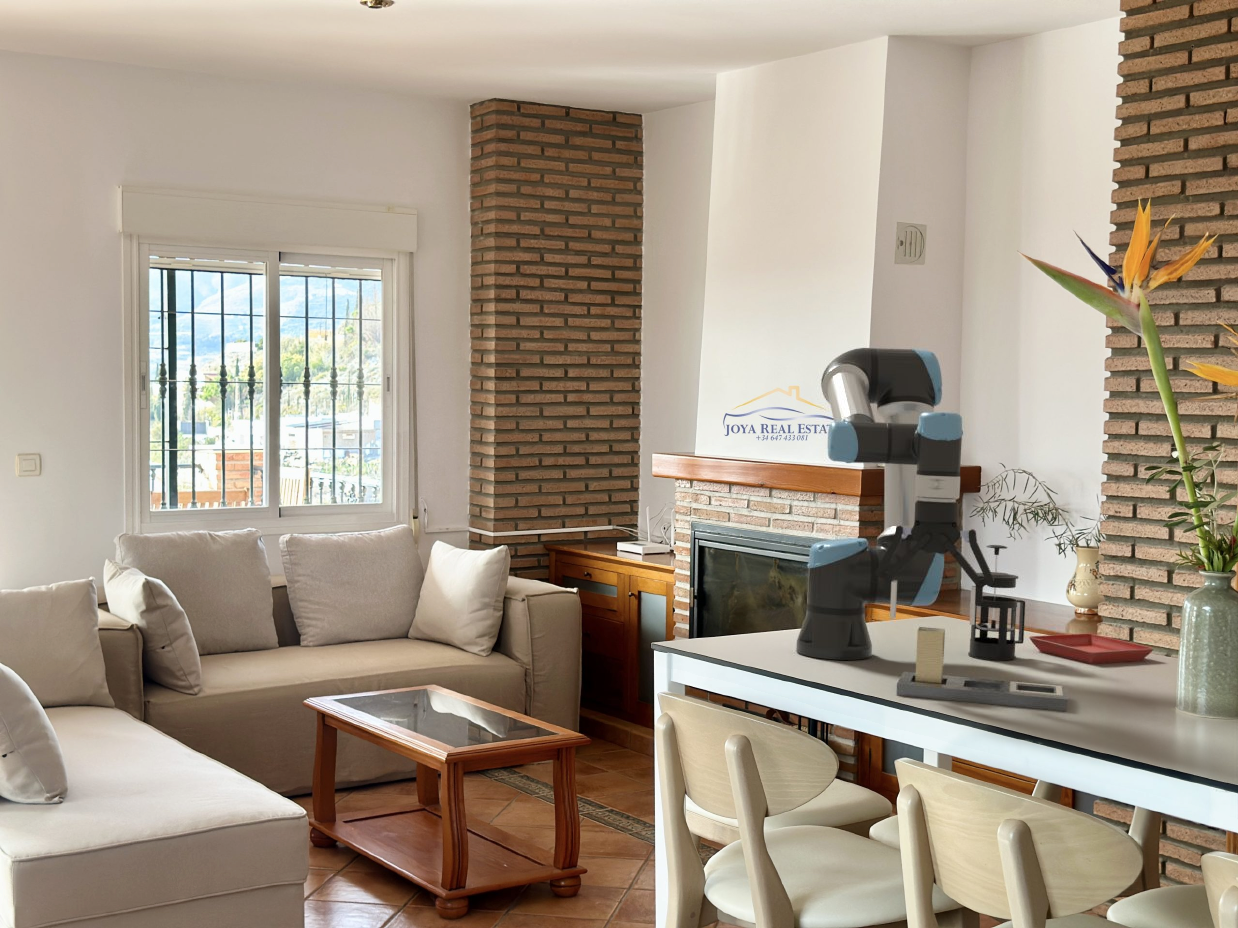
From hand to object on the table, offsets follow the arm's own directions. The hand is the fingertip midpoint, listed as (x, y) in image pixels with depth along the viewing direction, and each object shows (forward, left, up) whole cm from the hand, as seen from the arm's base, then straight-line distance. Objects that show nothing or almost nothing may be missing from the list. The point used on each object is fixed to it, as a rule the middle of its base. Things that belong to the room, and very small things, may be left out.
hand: (932, 620), depth 233 cm
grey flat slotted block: (+9, 0, -13) cm, 15 cm away
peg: (0, 0, -13) cm, 13 cm away
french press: (+10, +43, -13) cm, 46 cm away
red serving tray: (+29, +55, -13) cm, 64 cm away
